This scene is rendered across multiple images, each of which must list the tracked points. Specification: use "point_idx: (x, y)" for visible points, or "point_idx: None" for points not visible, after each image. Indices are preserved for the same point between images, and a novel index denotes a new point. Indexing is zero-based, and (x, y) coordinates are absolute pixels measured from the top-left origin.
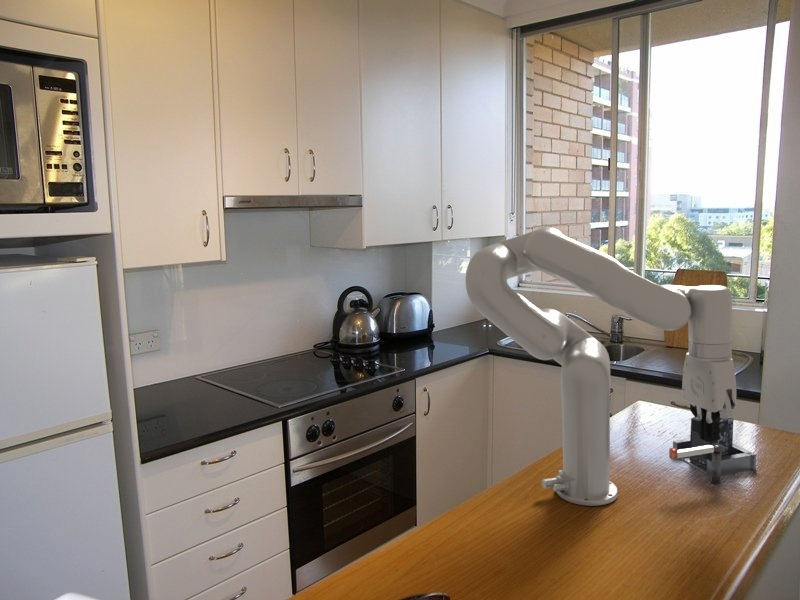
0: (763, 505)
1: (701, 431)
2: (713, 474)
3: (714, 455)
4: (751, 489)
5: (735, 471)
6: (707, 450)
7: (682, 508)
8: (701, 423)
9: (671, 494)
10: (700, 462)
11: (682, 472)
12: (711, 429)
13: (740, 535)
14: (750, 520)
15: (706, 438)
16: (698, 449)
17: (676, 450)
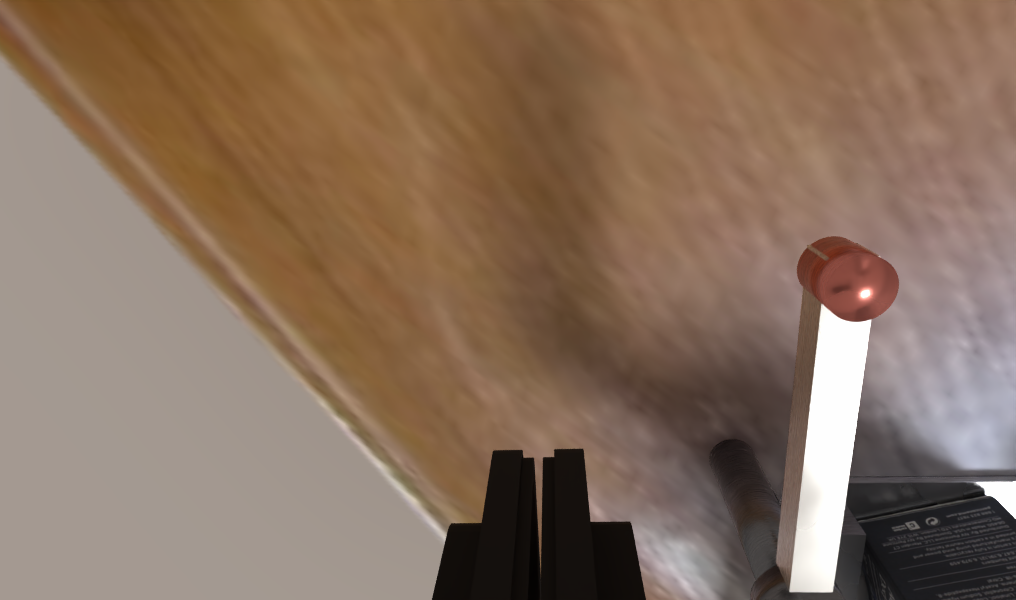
0: (470, 490)
1: (560, 504)
2: (740, 470)
3: (773, 551)
4: None
5: None
6: (787, 533)
7: (547, 130)
8: (565, 589)
9: (707, 171)
10: (924, 518)
11: (905, 385)
12: (435, 593)
13: (251, 230)
14: (364, 357)
15: (490, 475)
16: (801, 479)
17: (828, 297)
